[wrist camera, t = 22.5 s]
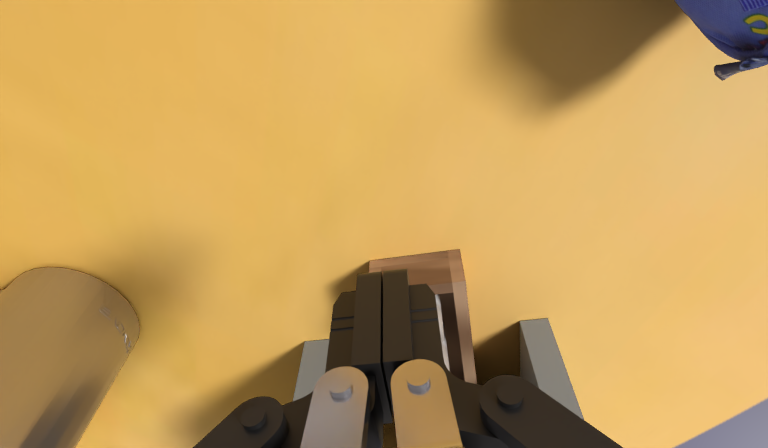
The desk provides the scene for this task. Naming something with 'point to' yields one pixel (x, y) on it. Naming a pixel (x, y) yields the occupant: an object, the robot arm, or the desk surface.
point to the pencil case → (733, 30)
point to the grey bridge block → (536, 364)
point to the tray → (443, 303)
